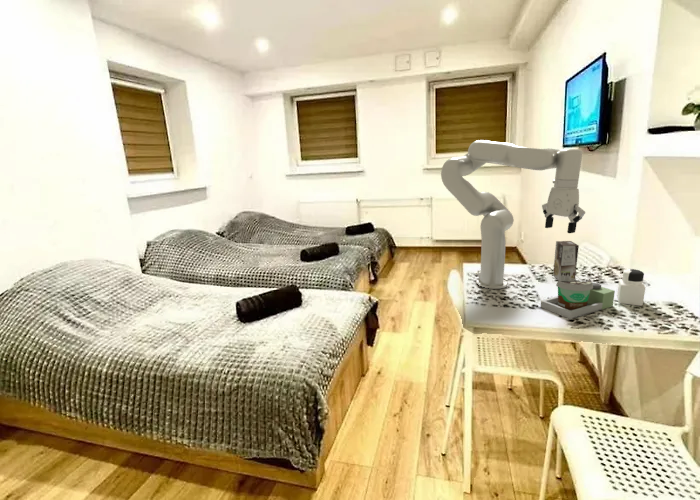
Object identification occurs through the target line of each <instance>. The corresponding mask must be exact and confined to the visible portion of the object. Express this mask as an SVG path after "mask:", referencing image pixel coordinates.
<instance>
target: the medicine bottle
mask: <svg viewBox="0 0 700 500" xmlns="http://www.w3.org/2000/svg"><path fill="white" fill-rule="evenodd" d="M622 272H623V273H622V276H621V278H622V279H620V278H619V280H618V286H617V291H616V292H617V294H616V298H617V302H618V304H624V305H633V306H639V307H643V305H644V300H645V299H644V298H645V293H646V292H645V291H646V286H645V284H644V282H643V281H644V278H645V277H644V275H645V273H644V271H641V270H640V269H635V268H629V269H623V271H622Z"/></svg>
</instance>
